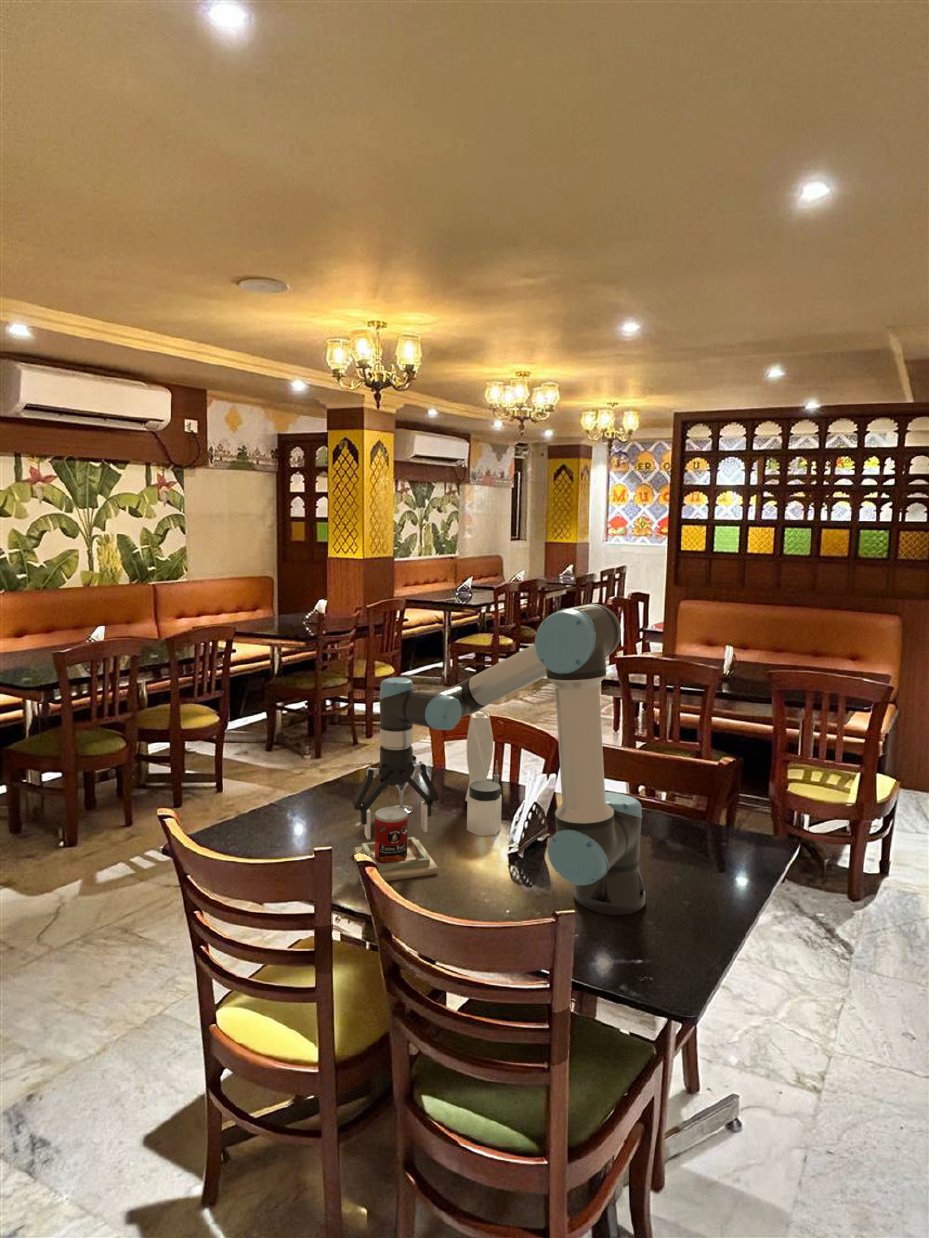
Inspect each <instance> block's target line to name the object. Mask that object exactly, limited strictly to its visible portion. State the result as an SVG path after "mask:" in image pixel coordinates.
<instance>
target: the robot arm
mask: <svg viewBox="0 0 929 1238" xmlns="http://www.w3.org/2000/svg"><path fill="white" fill-rule="evenodd" d="M621 636H622V628H621V623H620V620H619V619H618V617H617V615H615V613H614V612H613V611H612V610H611V609H609V608H608V607H606V606H604V605H601V604H597V603H588V604H582V605H579V606H573V607H568V608H561V609H560V610H557V611H556V612H554V613H551V614H550V615H548V616H547V617H545V618H544V619H543V621H542V622H541V623H540V625H539V626H538V628H537V630H536V634H535V637H534V643H533V644H532V645H530V646H529V647H526V648H525V649H522V650H520V651H518V652H516V653H515V654H512V655H511V656H509V657H507V658H505V659H503V660H501V661H499V662H497V663H496V664H494V665H492V666H490V667H488V668H486V669H484V670H482V671H481V672H479V673H476V674H475V675H473V676H471V677H469V678H467V679H465V680H463V681H461V682H459V683H457V684H455V685H452V686H449V687H445V688H442V689H440V690H436V691H434V692H429V691H428V692H427V691H420V690H416V689H414V688H415V687H414V682H413V680H412V679H410V678H407V677H389V678H385V679H383V680H382V681H381V683H380V688H379V689H380V690H379V698H378V700H379V713H380V714H379V716H380V717H379V719H380V720H379V721H380V722H379V730H380V731H379V744H380V745H381V746H380V747H379V766H378V767H377V768H376V767H371V766H367V767H366V768H365V774H364V778H363V780H362V782H361V784H360V786H359V789H358V791H357V793H356V795H355V797H354V799H353V801H352V803H351V804H352V807H353V809H354V810H355V811H359V813H360V814H359V816H360V817H359V818H360V822H361V825H362V826H364V836H365V837H366V839H367V840H372V839H371V837H372V836H371V827H372V826H371V810H370V807H371V806H372V804H373V803H374V802H375V801H376V799H377V798H378V797H379V796H380V794H381V793H382V792H383V790H385V789H387V787H388V786H390V787H396V785H404V784H405V783H406V782H408V783H409V784H408V785H409V786H411V788H413V790H414V791H416V793H417V794H418V795H419V796H420V797H421V798H422V799H423V801H421V802H420V828H421V830H422V831H423V832H424V833H426V832H428V818H430V817H431V816H432V805H433V804H434V802H438V801H439V800H440V796H439V794H438V792H437V791H436V788H435V786H434V784H433V783H432V780H431V779H430V777H429V774H428V772H427V766H426V764H425V763H424V761H419V762H418V763H416V764H414V765H413V755H414V754H413V751H414V748H413V746H412V745H413V741H414V740H413V739H414V738H413V735H414V733H413V731H414V730H413V729H414V727H413V725H414V726H416V725H417V726H422V727H426V728H432V729H433V730H438V731H439V730H442V731H451V730H453V729H455V728H456V726H457V725H458V724H459V722H460V720H461V718H464V717H466V716H468V715H469V716H470V714H473V713H476V712H477V711H479V710H483V708H485V707H487V706H489V705H491V704H493V703H495V702H497V701H499V700H501V699H503V698H505V697H507V696H509V695H511V694H513V693H515V692H517V691H520V690H522V689H523V688H525V687H528V686H530V685H533V684H534V683H536V682H539V680H541V679H542V680H543V679H544V678H546V679H547V681H549V682H550V683H551V684H552V685H553V686H554V689H555V690H554V691H555V704H556V705H555V706H556V708H555V709H556V720H557V721H556V722H557V725H556V726H557V737H558V754H559V755H558V757H559V758H558V759H559V772H560V788H561V805H559V807H557V808H556V810H555V813H554V816H555V833H554V834H553V836H552V837H551V838H550V840H549V843H548V846H547V855H548V859H549V860H548V861H549V862H550V864H551V866H552V868H553V869H554V871H555V873H558V874H559V875H560V877H561V878H562V879H564V880H565V881H566V882H568V883H571V884H573V885H574V893H573V894H574V895H573V896H574V899H575V900H576V902H577V903H578V904H579V905H580V906H582V907H583V908H585V909H588V910H590V911H592V912H595V913H598V914H602V915H608V916H624V915H625V916H626V915H632V914H634V913H637V912H639V911H641V910H642V909H643V908H644V907H645V905H646V890H645V886H644V882H643V877H642V875H641V871H640V866H639V865H640V852H641V851H640V847H641V833H642V832H641V831H642V821H643V820H642V819H643V815H642V814H643V813H642V811H643V810H642V804H641V803H640V801H639V800H638V799H637V798H635V797H633V796H630V795H627V794H623V793H618V792H611V791H606V787H605V769H604V768H605V767H604V752H603V751H604V750H603V749H604V748H603V734H602V715H601V714H602V713H601V697H600V696H601V695H600V683H601V682H602V681H603V680H604V679H605V678H606V677H607V663H606V662H607V661H606V658H608V657H609V656H610V655H611V654H612V653H614V651H615V650H616V649H617V647H618V646H619V644H620V641H621V638H622V637H621ZM414 770H416V771H415V772H417V773H418V774H419V775H420V776H421V779H422V781H423V782H424V784H425V786H426V788H427V790H428V792H429V795H428V794H427V793H426V792H425V791H424V790H423V789H422V788H421V787H420V785H418V784H417V782H416V781H415V780H414V778H413V779H412V778H411V777H410V776H411V775H412V773H413V772H414ZM378 774H379V776H380V778H379V779H378V780H377V783H376V784H374V787H372V789H371V790H370V792H369V793H368V791H369V789H370V786H371V785H372V783H373V779H374V778H376V777H377V775H378ZM367 793H368V794H367Z"/></svg>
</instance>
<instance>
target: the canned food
mask: <svg viewBox="0 0 929 1238" xmlns="http://www.w3.org/2000/svg"><path fill="white" fill-rule="evenodd" d="M408 827H409V815H408V812H407V811H406V810H405V809H402V808H399V807H393V806H386V807H381V808H379V809H378V810H376V811H375V813H374V842H375V857H376V860H377V861H378V862H380V863H382V864H384V863H392V862H399V861H404V860H405V859H406V857H407V843H408V838H409V837H408V836H409V835H408V831H409V830H408V829H409V828H408Z"/></svg>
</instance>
